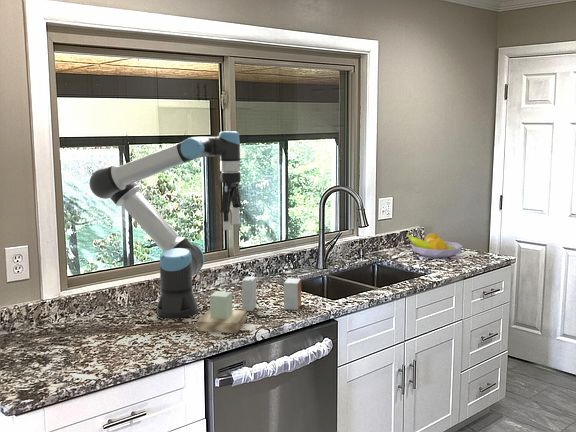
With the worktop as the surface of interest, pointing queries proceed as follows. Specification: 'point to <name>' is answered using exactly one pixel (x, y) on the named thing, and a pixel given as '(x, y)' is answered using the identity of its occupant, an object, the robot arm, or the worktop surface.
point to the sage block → (221, 305)
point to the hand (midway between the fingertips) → (231, 226)
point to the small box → (292, 294)
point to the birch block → (222, 322)
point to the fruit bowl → (434, 246)
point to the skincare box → (248, 293)
